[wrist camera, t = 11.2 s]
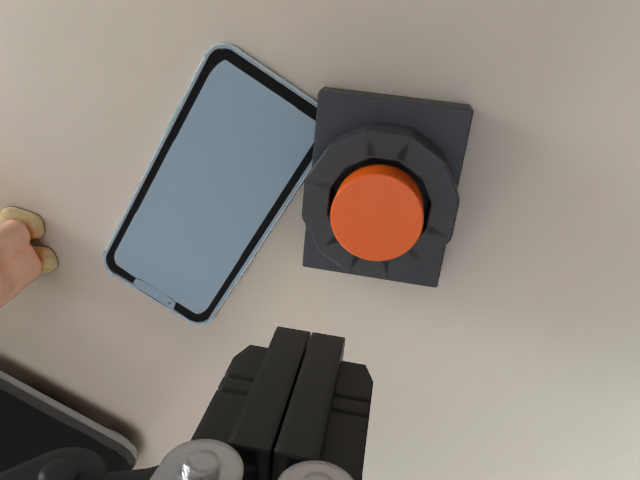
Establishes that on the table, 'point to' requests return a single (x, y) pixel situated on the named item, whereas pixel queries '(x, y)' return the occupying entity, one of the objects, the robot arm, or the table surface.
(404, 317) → the table surface
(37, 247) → the grandmother figurine
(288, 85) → the smartphone
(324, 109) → the button block
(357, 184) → the button
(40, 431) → the camera
